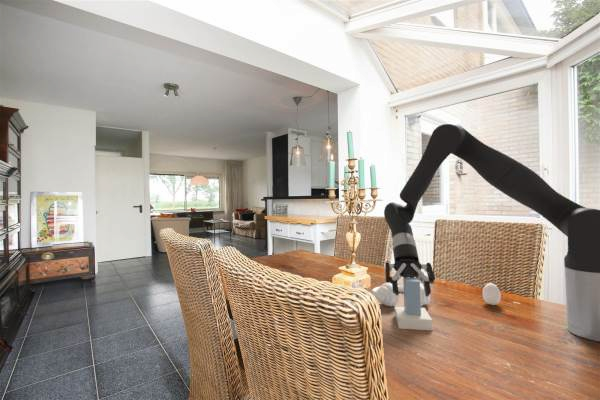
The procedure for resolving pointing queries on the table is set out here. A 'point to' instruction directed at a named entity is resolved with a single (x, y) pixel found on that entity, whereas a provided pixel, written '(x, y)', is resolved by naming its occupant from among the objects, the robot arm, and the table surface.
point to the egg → (491, 294)
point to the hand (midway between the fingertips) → (412, 294)
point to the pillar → (412, 296)
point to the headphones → (390, 298)
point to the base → (413, 320)
